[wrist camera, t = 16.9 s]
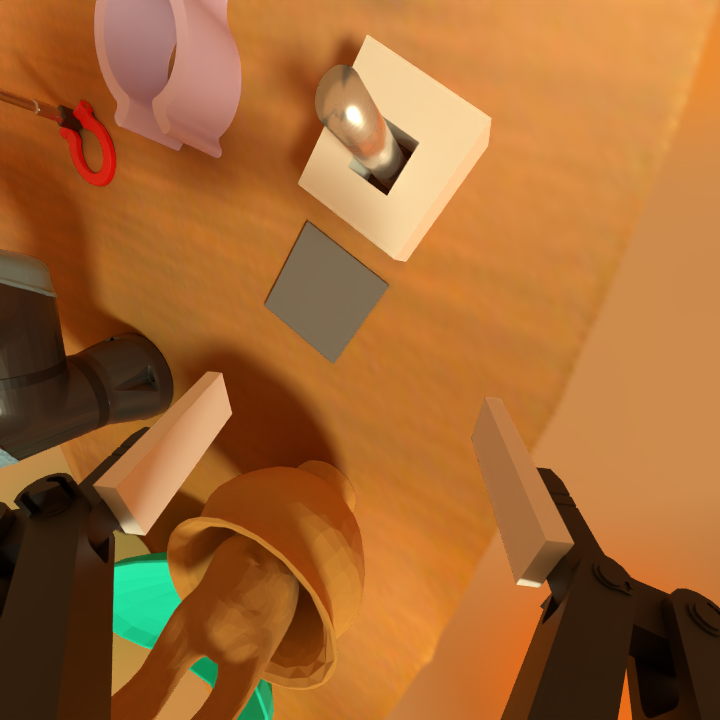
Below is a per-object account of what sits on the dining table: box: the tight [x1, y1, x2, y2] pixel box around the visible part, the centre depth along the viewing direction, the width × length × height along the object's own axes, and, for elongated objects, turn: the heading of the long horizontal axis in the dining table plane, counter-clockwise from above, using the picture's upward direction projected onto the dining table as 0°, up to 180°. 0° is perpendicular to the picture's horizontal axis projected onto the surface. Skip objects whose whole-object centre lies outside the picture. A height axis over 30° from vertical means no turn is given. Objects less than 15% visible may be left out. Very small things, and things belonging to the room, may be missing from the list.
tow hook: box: [0, 89, 116, 186], centre depth 37 cm, size 8×13×9 cm
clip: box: [94, 0, 242, 158], centre depth 30 cm, size 20×12×7 cm, turn 167°
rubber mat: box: [264, 221, 389, 363], centre depth 35 cm, size 12×12×1 cm
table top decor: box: [113, 552, 274, 720], centre depth 53 cm, size 40×28×13 cm
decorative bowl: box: [111, 460, 365, 720], centre depth 30 cm, size 21×21×30 cm
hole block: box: [298, 34, 491, 262], centre depth 27 cm, size 12×12×5 cm
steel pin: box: [315, 64, 408, 191], centre depth 23 cm, size 3×3×14 cm
